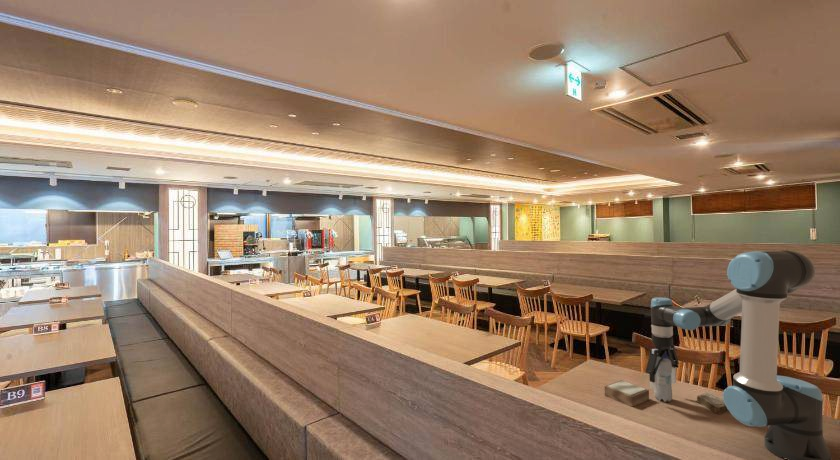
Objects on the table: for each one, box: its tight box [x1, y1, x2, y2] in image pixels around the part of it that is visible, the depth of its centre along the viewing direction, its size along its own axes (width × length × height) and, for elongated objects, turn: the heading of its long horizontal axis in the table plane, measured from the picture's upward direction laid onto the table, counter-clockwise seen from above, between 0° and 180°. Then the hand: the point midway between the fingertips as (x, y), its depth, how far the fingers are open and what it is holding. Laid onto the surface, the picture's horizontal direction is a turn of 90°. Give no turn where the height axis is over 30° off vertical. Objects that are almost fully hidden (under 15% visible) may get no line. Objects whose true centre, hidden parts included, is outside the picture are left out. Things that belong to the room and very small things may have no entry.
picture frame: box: [604, 379, 650, 408], centre depth 161 cm, size 12×12×4 cm
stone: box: [696, 392, 729, 415], centre depth 152 cm, size 15×8×3 cm, turn 179°
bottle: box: [653, 354, 673, 403], centre depth 158 cm, size 7×7×20 cm
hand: (663, 385), depth 158 cm, fingers open, 13 cm apart
